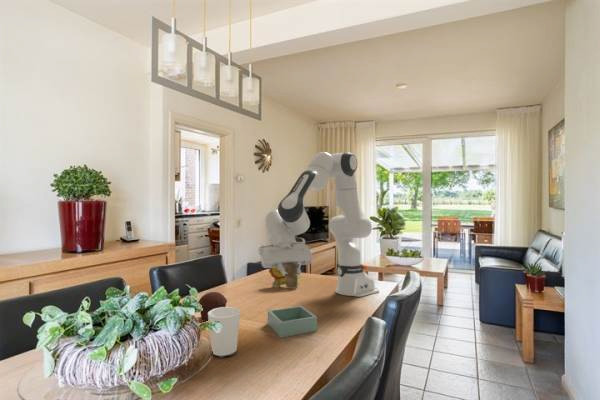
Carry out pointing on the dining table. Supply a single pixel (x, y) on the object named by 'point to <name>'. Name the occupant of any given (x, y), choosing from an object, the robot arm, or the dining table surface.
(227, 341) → the cup
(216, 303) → the muffin
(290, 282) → the walnut peg
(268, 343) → the dining table surface
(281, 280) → the toy lion
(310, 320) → the bin
